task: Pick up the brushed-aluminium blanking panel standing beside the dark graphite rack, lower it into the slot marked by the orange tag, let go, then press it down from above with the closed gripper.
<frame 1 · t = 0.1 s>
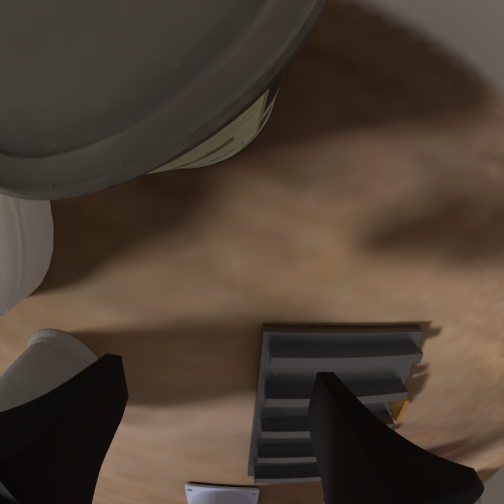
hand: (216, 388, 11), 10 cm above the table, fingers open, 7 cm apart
rack: (325, 412, 24), on the table
coffee can: (189, 86, 17), on the table
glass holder: (56, 383, 23), on the table
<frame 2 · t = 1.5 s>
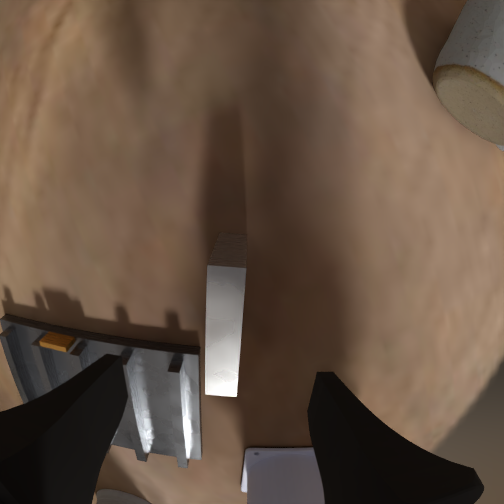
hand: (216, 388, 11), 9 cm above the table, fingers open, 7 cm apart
rack: (100, 392, 22), on the table
panel: (230, 288, 20), on the table
ceramic mug: (477, 88, 16), on the table
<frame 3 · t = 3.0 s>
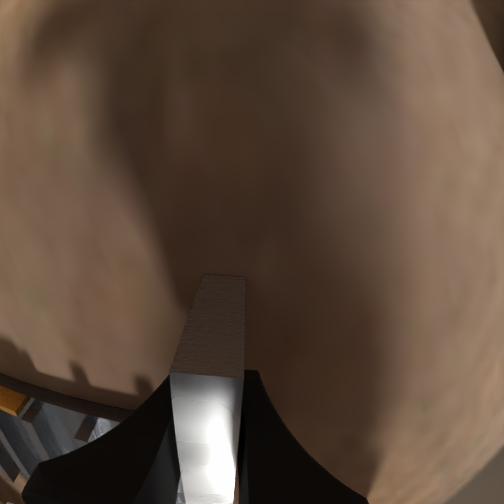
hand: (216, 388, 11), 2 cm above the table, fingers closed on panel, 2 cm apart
rack: (68, 450, 16), on the table
panel: (221, 352, 13), on the table, touching gripper
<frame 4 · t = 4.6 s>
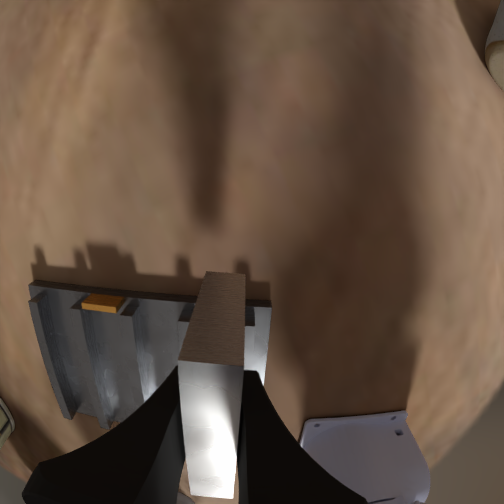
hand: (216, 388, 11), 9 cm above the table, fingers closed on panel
rack: (145, 365, 22), on the table
panel: (222, 344, 14), point 6 cm above the table, touching gripper
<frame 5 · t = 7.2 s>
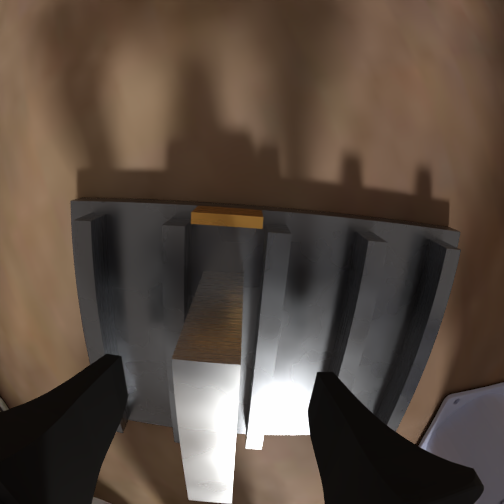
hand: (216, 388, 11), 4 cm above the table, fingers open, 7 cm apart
rack: (262, 335, 15), on the table
panel: (221, 346, 14), point 1 cm above the table, touching rack
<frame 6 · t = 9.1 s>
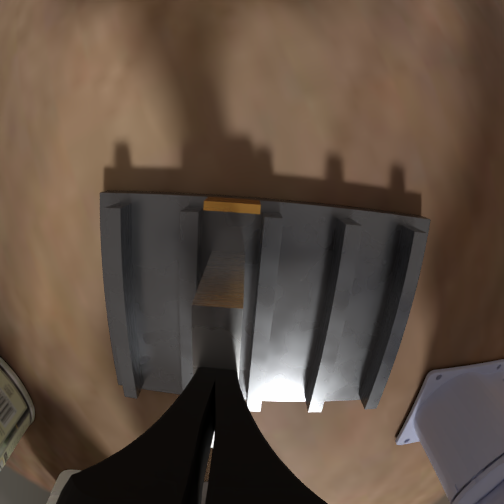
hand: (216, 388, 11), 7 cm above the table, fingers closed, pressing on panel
rack: (260, 308, 18), on the table
panel: (225, 316, 17), point 1 cm above the table, touching gripper, rack
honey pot: (109, 499, 25), on the table
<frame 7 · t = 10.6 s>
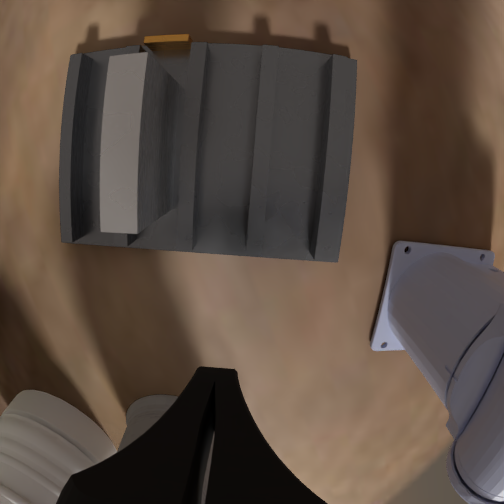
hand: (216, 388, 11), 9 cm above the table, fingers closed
rack: (197, 145, 17), on the table
panel: (161, 145, 16), point 1 cm above the table, touching rack
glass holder: (198, 444, 24), on the table
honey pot: (63, 434, 25), on the table
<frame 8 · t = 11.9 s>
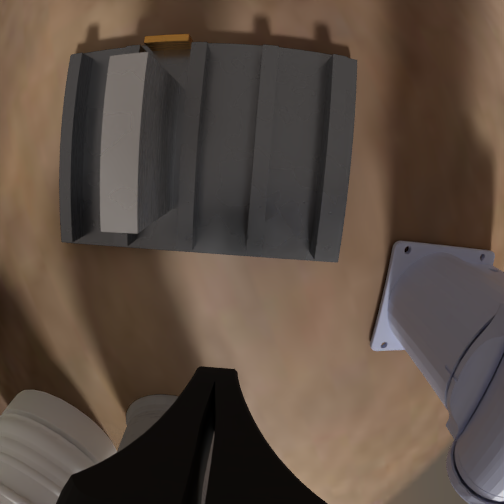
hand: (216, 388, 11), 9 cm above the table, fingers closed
rack: (197, 145, 17), on the table
panel: (161, 145, 16), point 1 cm above the table, touching rack
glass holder: (198, 444, 24), on the table
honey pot: (63, 434, 25), on the table
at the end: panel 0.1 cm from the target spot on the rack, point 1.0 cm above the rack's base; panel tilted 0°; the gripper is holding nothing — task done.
